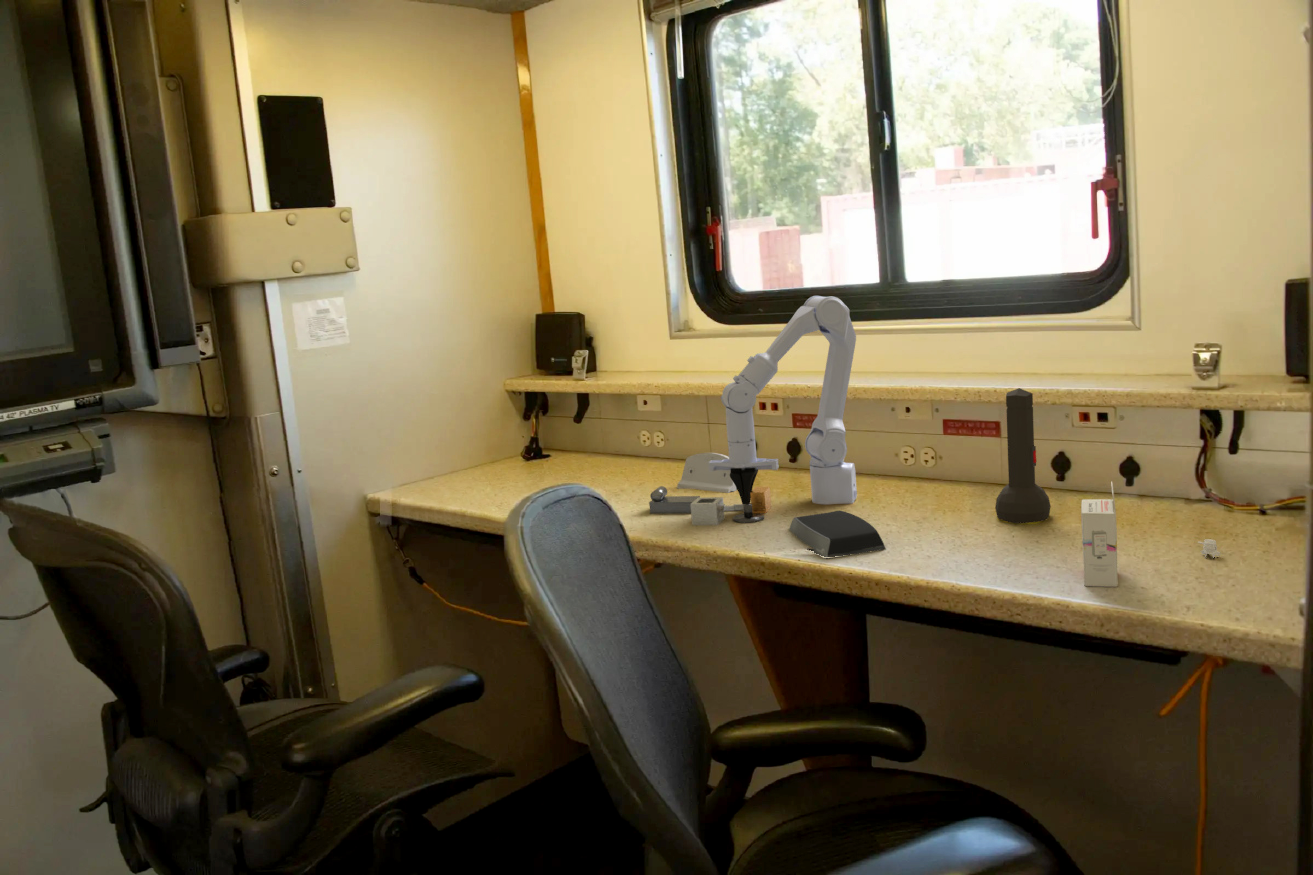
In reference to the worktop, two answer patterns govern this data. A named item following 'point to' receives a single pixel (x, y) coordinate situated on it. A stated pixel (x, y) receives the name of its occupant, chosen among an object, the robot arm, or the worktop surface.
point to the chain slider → (755, 501)
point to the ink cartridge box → (1099, 541)
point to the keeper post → (748, 515)
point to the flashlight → (1021, 465)
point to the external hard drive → (836, 534)
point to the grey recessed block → (707, 511)
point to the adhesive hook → (1209, 547)
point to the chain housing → (670, 503)
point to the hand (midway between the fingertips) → (746, 503)
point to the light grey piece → (705, 474)
